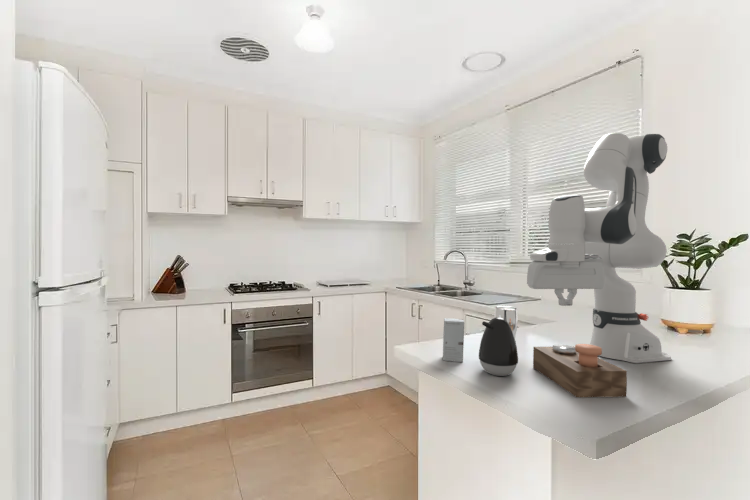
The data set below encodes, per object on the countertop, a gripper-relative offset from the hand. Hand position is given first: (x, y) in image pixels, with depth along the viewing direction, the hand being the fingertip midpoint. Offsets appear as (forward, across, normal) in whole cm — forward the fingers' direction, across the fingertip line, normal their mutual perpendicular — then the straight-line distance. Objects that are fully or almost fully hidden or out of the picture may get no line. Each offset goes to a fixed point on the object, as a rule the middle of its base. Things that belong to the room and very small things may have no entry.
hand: (565, 305), depth 98 cm
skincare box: (+19, +27, -13) cm, 36 cm away
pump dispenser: (+19, +18, -1) cm, 26 cm away
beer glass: (+19, +9, -17) cm, 27 cm away
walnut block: (+19, 0, +5) cm, 19 cm away
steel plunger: (+16, 0, 0) cm, 17 cm away
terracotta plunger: (+13, 0, +10) cm, 17 cm away
